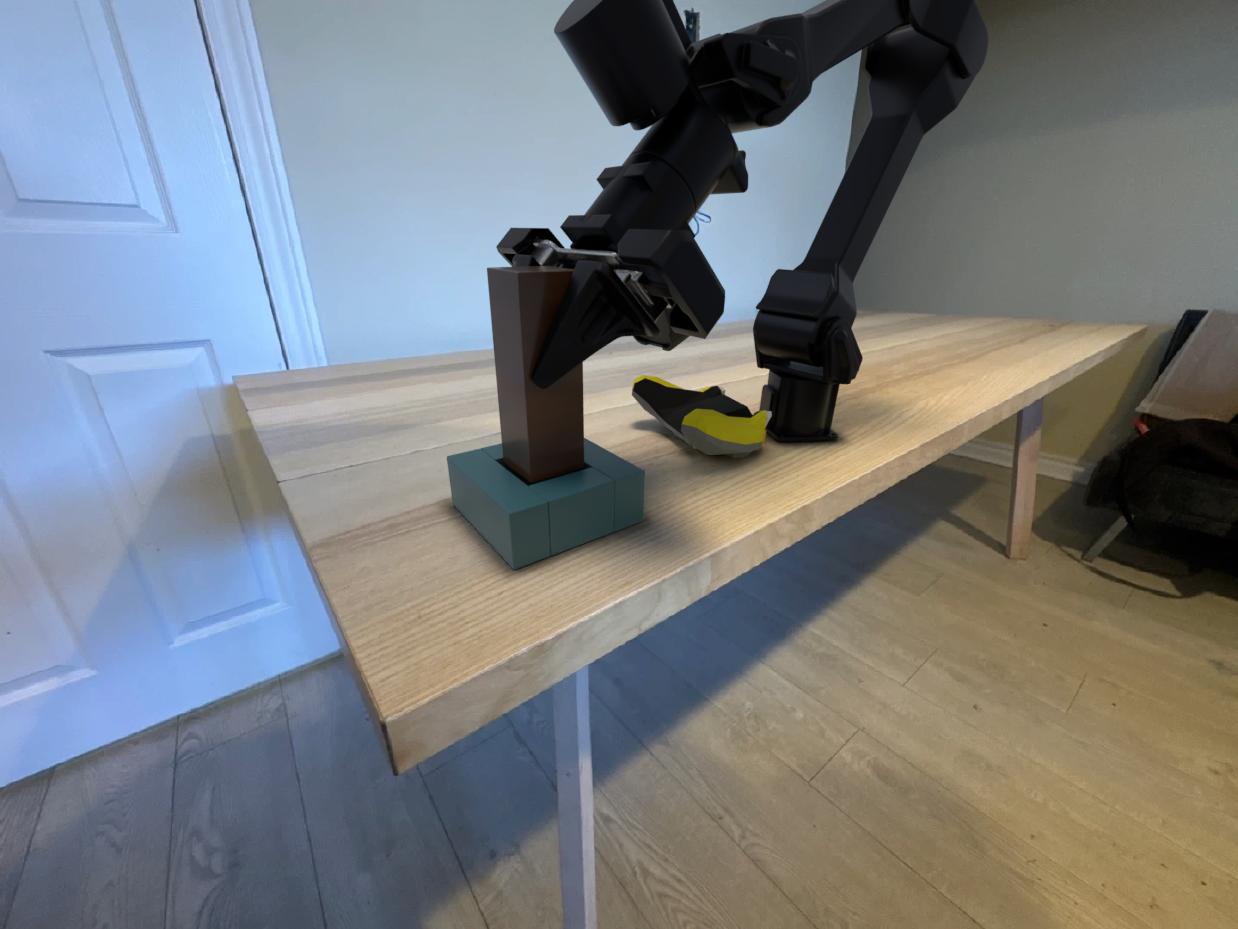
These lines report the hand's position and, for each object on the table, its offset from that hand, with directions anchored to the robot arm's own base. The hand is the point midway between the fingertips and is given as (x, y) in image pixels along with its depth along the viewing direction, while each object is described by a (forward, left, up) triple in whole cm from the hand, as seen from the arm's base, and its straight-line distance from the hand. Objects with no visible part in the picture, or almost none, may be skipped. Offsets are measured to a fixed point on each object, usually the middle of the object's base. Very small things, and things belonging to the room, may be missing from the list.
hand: (520, 376), depth 33 cm
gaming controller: (-16, -14, -11) cm, 24 cm away
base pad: (-1, -1, -10) cm, 10 cm away
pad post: (-1, -1, -7) cm, 7 cm away
